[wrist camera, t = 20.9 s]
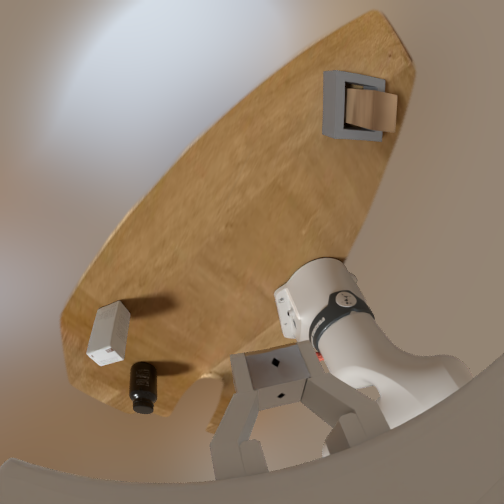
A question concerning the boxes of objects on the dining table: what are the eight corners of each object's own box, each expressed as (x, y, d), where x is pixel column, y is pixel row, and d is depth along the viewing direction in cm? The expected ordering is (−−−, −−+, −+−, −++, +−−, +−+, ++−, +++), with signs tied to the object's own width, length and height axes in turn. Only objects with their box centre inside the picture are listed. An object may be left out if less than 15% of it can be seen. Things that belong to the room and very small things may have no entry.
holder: (368, 136, 41) (381, 141, 38) (322, 134, 39) (334, 138, 36) (370, 79, 35) (385, 79, 32) (323, 71, 34) (335, 70, 30)
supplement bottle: (126, 369, 59) (123, 409, 49) (139, 358, 58) (137, 400, 48) (148, 379, 63) (148, 418, 53) (162, 368, 61) (163, 410, 51)
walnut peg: (358, 91, 36) (397, 95, 28) (357, 122, 39) (394, 132, 31) (337, 88, 36) (374, 90, 27) (336, 120, 39) (372, 130, 30)
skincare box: (109, 321, 50) (100, 368, 40) (97, 307, 48) (84, 354, 38) (132, 313, 50) (125, 361, 40) (119, 298, 48) (109, 346, 38)
